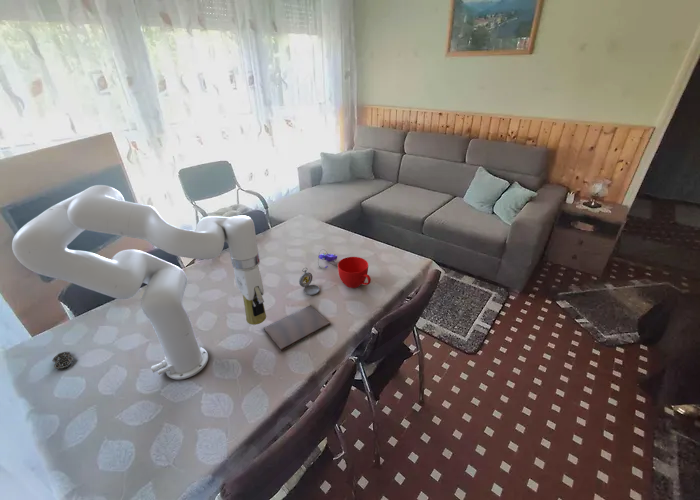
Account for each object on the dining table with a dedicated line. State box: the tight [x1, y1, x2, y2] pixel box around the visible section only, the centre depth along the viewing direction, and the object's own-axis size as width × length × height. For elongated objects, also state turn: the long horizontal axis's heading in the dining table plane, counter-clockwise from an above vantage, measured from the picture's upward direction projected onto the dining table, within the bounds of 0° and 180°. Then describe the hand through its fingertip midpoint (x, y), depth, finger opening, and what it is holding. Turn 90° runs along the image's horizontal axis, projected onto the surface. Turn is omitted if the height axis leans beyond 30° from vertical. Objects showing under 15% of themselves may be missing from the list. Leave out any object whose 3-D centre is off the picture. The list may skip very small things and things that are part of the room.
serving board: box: [263, 304, 330, 352], centre depth 118 cm, size 20×13×1 cm, turn 129°
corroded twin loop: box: [51, 351, 74, 370], centre depth 104 cm, size 5×8×1 cm, turn 49°
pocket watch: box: [298, 267, 320, 296], centre depth 135 cm, size 8×8×10 cm
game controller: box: [317, 248, 338, 269], centre depth 154 cm, size 10×8×10 cm
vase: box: [242, 294, 267, 326], centre depth 98 cm, size 6×6×14 cm
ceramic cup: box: [337, 256, 372, 289], centre depth 137 cm, size 13×17×10 cm
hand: (254, 308), depth 100 cm, fingers closed on vase, 5 cm apart
